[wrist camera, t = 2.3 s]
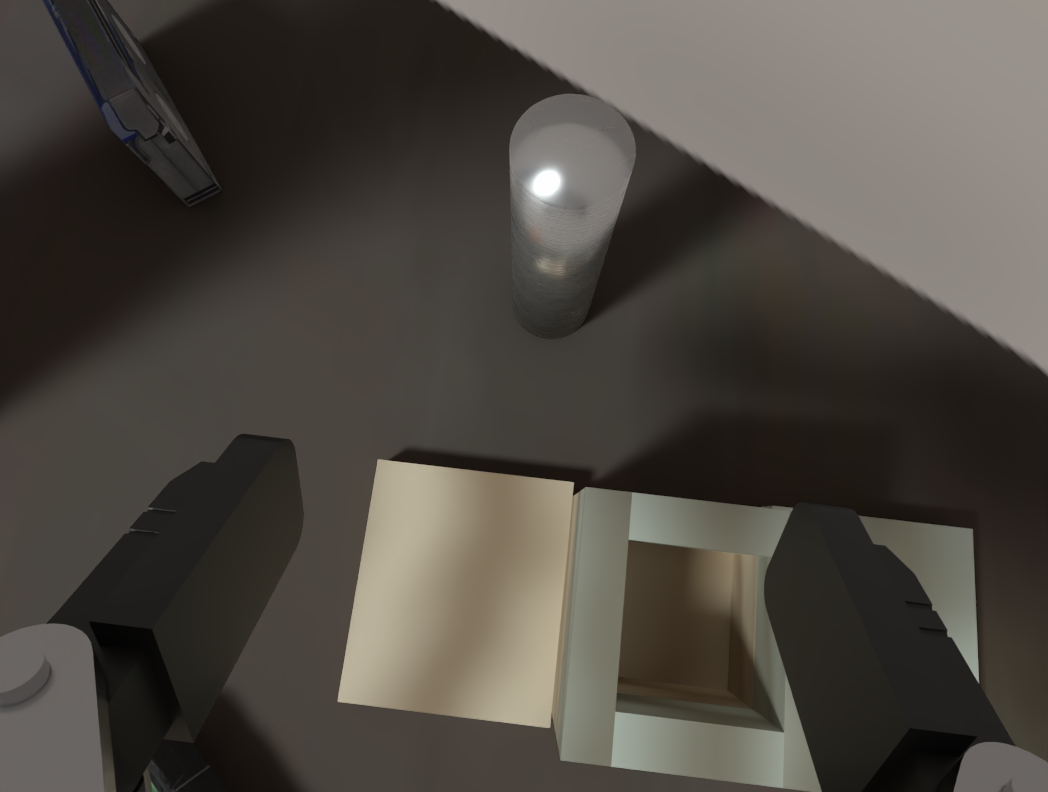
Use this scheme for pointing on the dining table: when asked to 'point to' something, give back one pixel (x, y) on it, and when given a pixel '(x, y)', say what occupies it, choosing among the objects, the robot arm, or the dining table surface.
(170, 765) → the disk drive
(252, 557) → the robot arm
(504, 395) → the dining table surface
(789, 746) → the hinge leaves
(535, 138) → the hinge pin
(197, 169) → the mini dv tape
